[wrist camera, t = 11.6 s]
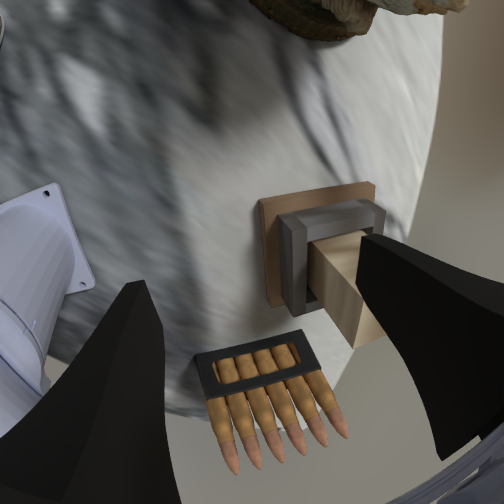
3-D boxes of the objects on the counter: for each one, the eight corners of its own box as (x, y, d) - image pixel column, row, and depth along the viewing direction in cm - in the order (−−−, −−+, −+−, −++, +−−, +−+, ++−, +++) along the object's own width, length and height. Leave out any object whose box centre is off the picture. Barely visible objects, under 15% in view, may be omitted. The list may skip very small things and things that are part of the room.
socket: (267, 300, 24) (282, 328, 21) (258, 199, 19) (277, 220, 16) (358, 273, 26) (379, 295, 23) (367, 181, 21) (396, 197, 18)
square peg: (300, 275, 22) (352, 349, 16) (300, 229, 20) (363, 300, 14) (344, 263, 23) (402, 326, 16) (347, 219, 21) (418, 278, 14)
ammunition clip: (197, 366, 26) (225, 480, 16) (193, 354, 25) (222, 475, 15) (300, 340, 28) (355, 437, 18) (301, 328, 27) (360, 429, 18)
